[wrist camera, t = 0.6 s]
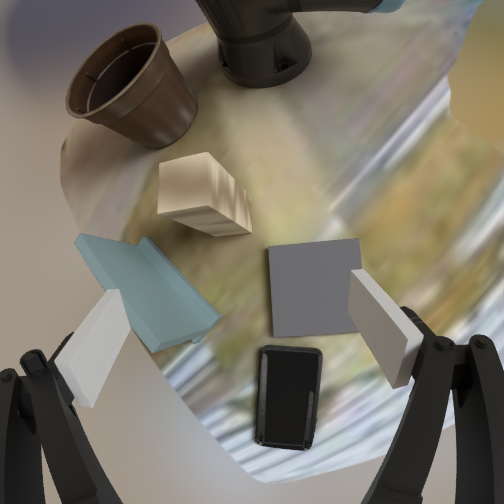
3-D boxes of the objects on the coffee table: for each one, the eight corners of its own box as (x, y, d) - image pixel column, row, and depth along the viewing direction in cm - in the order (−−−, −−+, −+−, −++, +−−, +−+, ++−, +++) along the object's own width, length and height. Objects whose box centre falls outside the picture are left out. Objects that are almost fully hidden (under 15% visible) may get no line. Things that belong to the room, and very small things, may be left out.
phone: (254, 444, 33) (260, 345, 35) (256, 441, 34) (262, 343, 36) (311, 451, 31) (324, 349, 33) (312, 447, 32) (324, 347, 34)
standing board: (149, 237, 41) (87, 221, 29) (222, 316, 37) (171, 331, 25) (131, 262, 42) (67, 254, 29) (199, 341, 38) (143, 364, 25)
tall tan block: (212, 201, 39) (157, 163, 26) (249, 195, 38) (207, 151, 24) (213, 237, 39) (155, 214, 25) (252, 232, 37) (208, 205, 24)
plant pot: (118, 120, 46) (60, 80, 31) (185, 66, 44) (141, 10, 28) (144, 180, 43) (72, 141, 27) (227, 116, 40) (178, 48, 25)
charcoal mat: (269, 247, 36) (268, 246, 35) (358, 239, 34) (358, 238, 33) (275, 335, 35) (273, 336, 34) (364, 329, 32) (365, 331, 31)
